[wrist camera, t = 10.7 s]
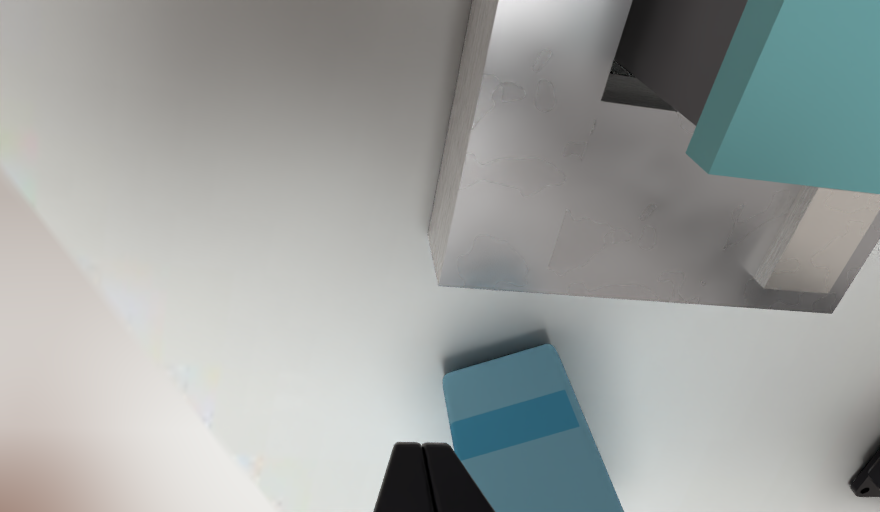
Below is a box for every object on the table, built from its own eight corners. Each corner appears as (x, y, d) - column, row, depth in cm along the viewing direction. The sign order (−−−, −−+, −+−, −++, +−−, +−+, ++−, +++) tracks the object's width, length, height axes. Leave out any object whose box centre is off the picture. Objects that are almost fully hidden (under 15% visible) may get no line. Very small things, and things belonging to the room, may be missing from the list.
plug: (794, -93, 17) (1071, -51, 11) (723, 79, 20) (912, 197, 13) (634, -127, 16) (831, -106, 10) (581, 57, 19) (708, 174, 12)
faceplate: (1018, -163, 17) (1161, -164, 14) (782, 265, 24) (843, 324, 21) (527, -292, 14) (575, -327, 11) (427, 234, 22) (440, 297, 19)
